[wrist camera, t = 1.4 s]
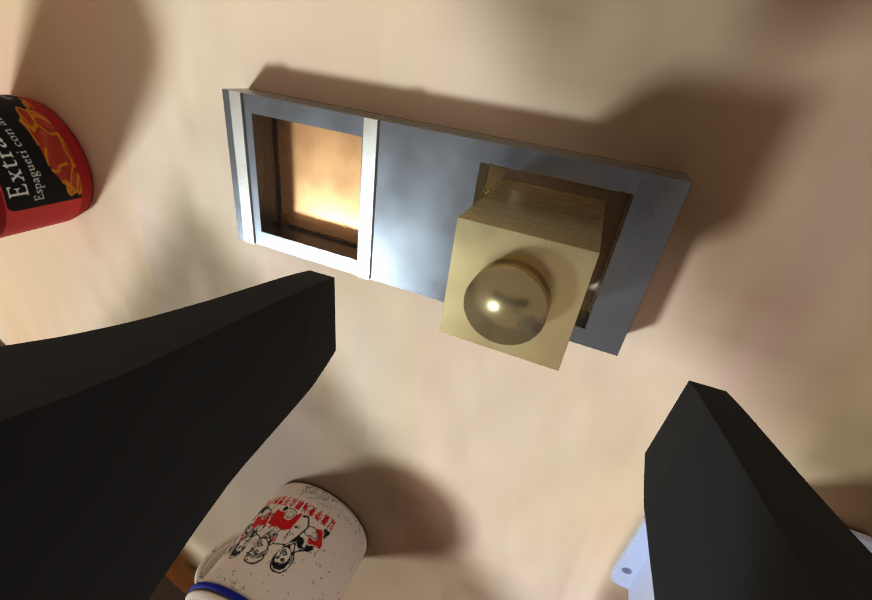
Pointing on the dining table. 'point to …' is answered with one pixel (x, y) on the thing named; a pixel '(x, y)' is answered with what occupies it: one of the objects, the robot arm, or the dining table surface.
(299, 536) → the teacup with lid
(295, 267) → the dining table surface
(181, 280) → the dining table surface
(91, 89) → the dining table surface
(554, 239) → the cube with round knob
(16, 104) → the canned food
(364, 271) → the plate with square holes
